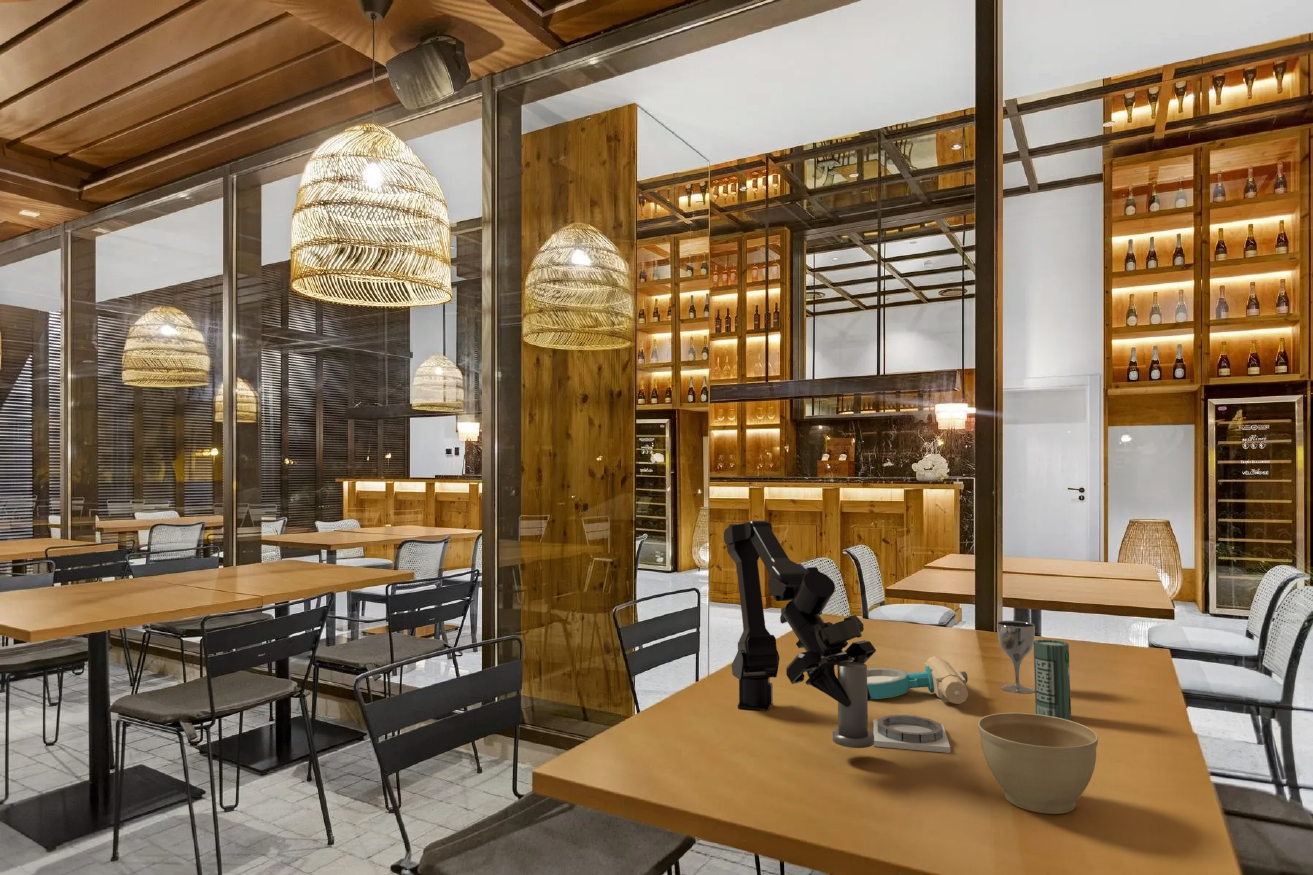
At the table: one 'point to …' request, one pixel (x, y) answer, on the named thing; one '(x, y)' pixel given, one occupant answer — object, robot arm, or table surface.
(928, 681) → the butterfly valve
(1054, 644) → the can
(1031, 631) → the wine glass
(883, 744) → the flange plate
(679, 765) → the table surface
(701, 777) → the table surface
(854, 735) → the pipe fitting
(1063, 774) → the planter bowl
